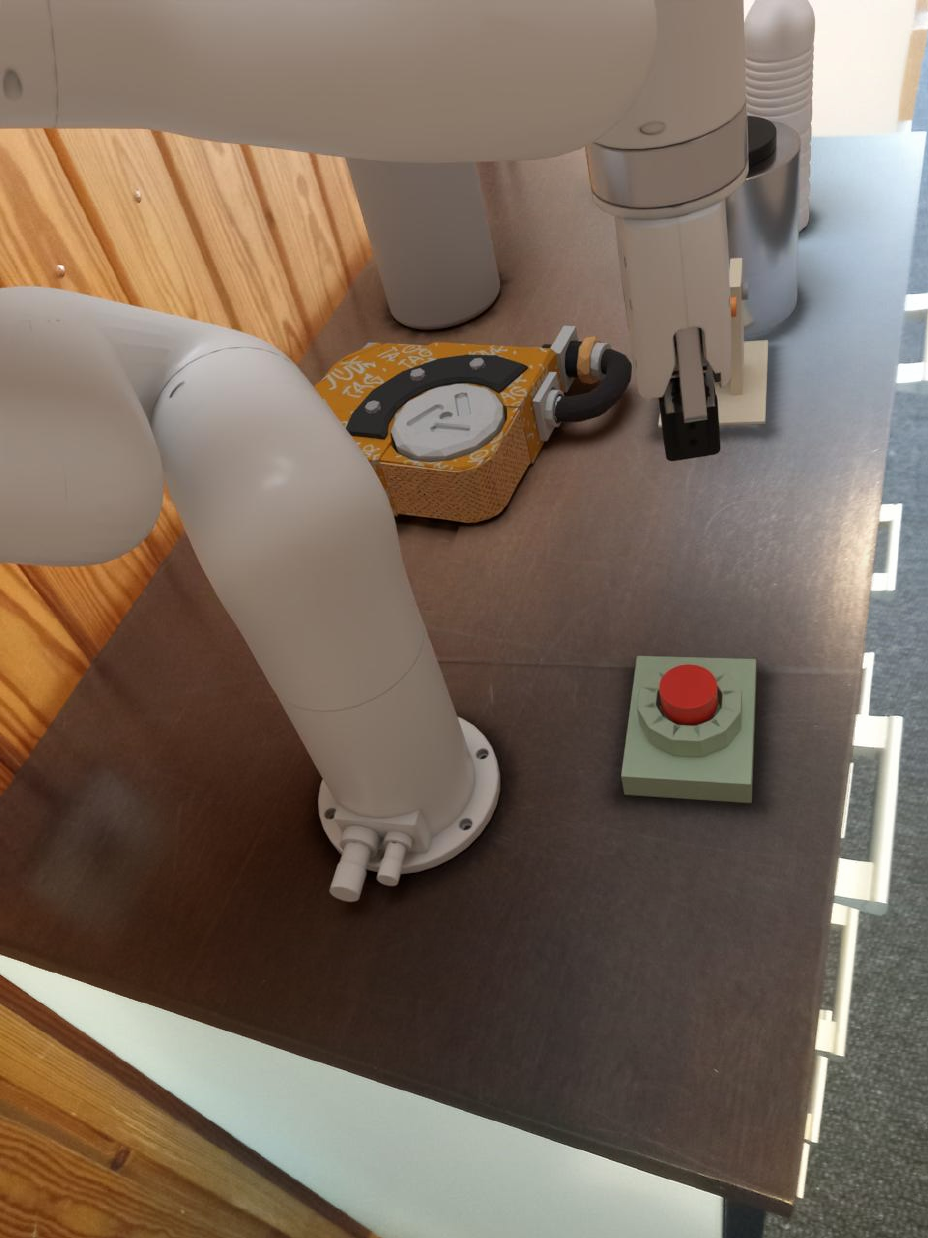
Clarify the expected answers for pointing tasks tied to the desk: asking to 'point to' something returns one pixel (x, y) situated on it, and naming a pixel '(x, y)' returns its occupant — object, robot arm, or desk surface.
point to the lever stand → (742, 365)
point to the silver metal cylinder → (767, 224)
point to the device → (465, 415)
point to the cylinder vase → (428, 239)
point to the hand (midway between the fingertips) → (692, 449)
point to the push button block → (692, 736)
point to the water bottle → (783, 74)
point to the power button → (688, 694)
